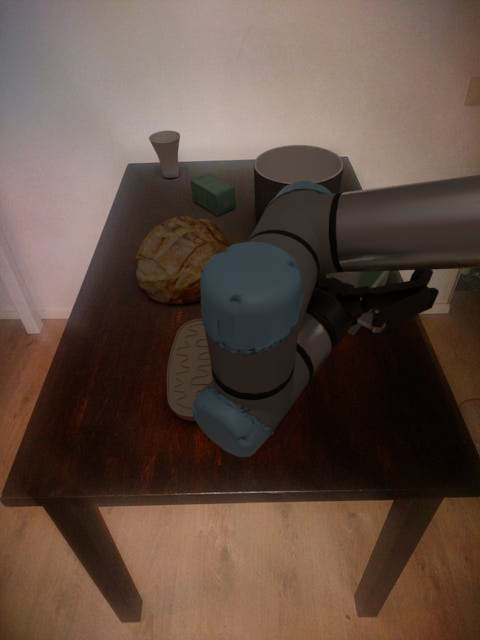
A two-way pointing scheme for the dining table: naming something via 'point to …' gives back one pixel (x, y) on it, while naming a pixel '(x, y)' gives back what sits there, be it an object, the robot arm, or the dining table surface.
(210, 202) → the box
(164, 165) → the cup
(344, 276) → the beverage can
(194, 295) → the bread
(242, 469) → the dining table surface
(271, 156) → the planter
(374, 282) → the waste bin
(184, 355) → the anatomical model
